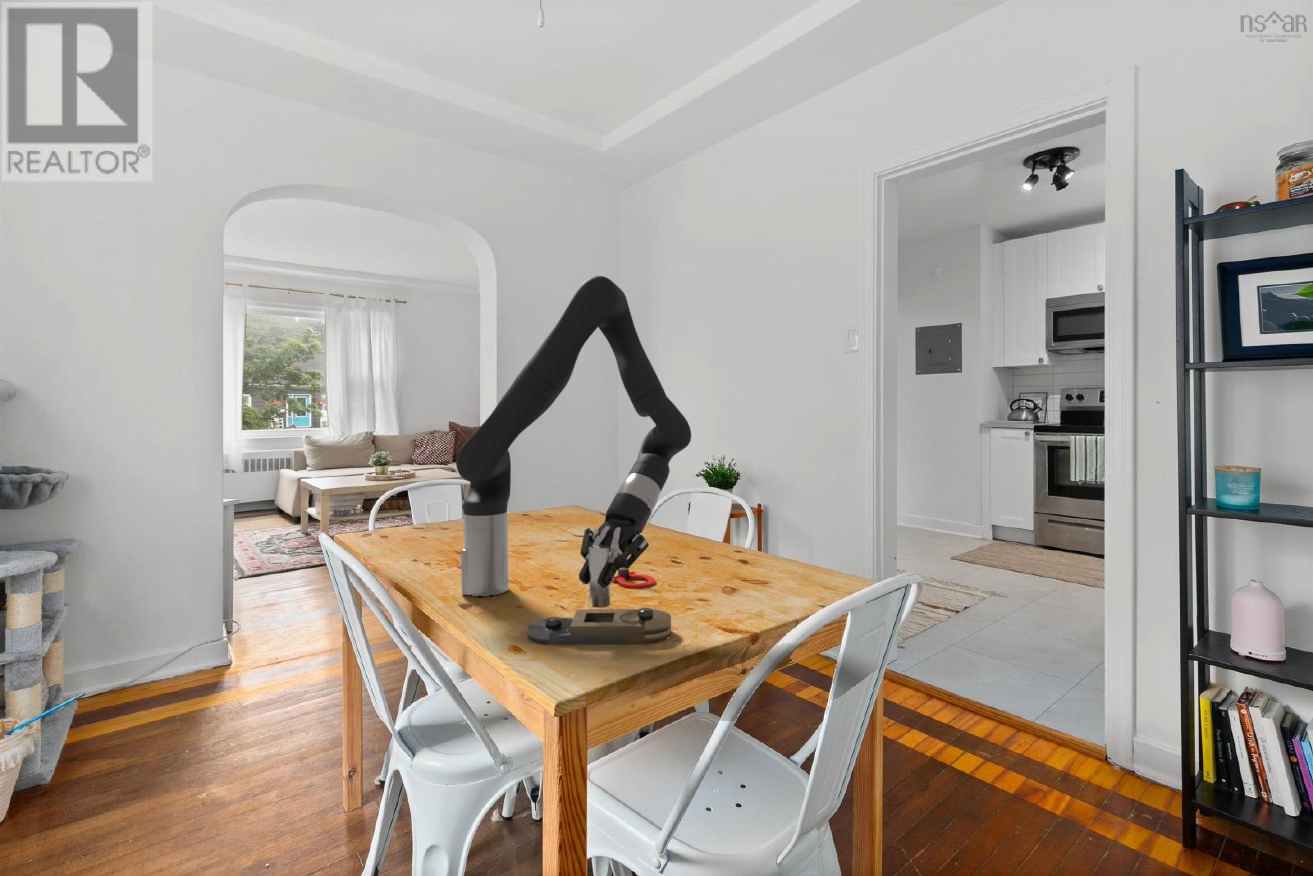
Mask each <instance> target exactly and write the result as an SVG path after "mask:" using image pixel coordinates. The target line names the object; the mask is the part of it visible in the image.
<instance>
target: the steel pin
mask: <svg viewBox="0 0 1313 876" xmlns="http://www.w3.org/2000/svg"><path fill="white" fill-rule="evenodd" d="M588 550H589V583H588V586H589V587H588V588H589V590H588V591H589V593H588V594H589V596H588V597H589V606H590V607H592V608H596V609H598V608H599V609H600V608H602V609H603V608H607V607H609V606H611V583H610V584H609V585H608V586H607V587H606V588H603V587H601V586H600V585H599V584H598V582H597V580H598V578H599V576H600V574H601V572H602V570H603V568H604V566H605V564H606V563H609V562H608V560H609V557H610V553H609V546H605V545H596V546H591V547H589V548H588Z"/></svg>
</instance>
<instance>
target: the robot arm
mask: <svg viewBox="0 0 1313 876" xmlns="http://www.w3.org/2000/svg"><path fill="white" fill-rule="evenodd" d="M627 299H628V298H627V296H626V295H625V293H624V291H623V290H622V289H621V288H620V287H619V286H618V285H617V284H616V283H615V282H614V281H612V280H611V279H610V278H608V277H606V276H603V275H594V276H591V277H590V278H587V279H586V280H584V282H582V284H581V285H580V286H579V287H578V289H577V290H576V291H575V292H574V295H573V297H572V298H571V300H570V301H569V303H568V305H567V307H566V308H565V310H564V312H563V313H562V314H561V316H560V318H559V320H558V321H557V323H556V324H555V326H554V327H553V328H552V330H551V331H550V332H549V334H548V335H547V337H546V338H545V339H544V340H543V342H542V343H541V344H540V346H539V347H538V349H537V350H536V352H535V353H534V354H533V355H532V357H531V358H530V359H529V360H528V361H527V363H526V364H525V365H524V366H523V368H522V369H521V371H520V372H519V373H518V375H517V376H516V378H515V379H514V381H513V382H512V384H511V385H510V386H509V388H508V389H507V391H506V392H505V393H504V395H503V396H502V397H501V398H500V400H499V402H497V403H498V404H497V405H496V406H495V408H494V409H493V410H492V413H490V415H489V416H488V417H487V418H486V419H485V420H484V422H483V423H482V424H481V425H480V426H479V427H478V428H477V430H475V432H474V433H473V434H472V435H470V437H469V438H468V439H467V440H466V442H464V444H462V446H461V447H460V448H459V450H458V453H457V455H456V460H455V465H456V469H457V470H456V471H457V473H458V474H459V475H460V477H461V478H462V479H463V480H465V481H467V482H469V483H470V485H469V489H468V490H469V491H468V493H467V496H466V497H465V499H464V501H463V503H462V504H463V505H462V510H463V512H462V513H463V514H462V515H463V516H462V517H463V548H462V549H461V550H460V562H461V563H460V565H461V595H464V596H467V595H468V596H470V595H472V596H471V597H478V596H483V597H491V596H490V595H493V596H497V595H501V594H504V592H505V593H506V591H507V592H508V591H509V589H510V588H509V587H510V583H509V581H510V579H509V536H508V535H509V531H508V526H509V525H508V523H509V522H508V504H509V500H510V495H511V480H512V474H511V473H512V468H511V467H512V463H511V455H510V451H509V448H510V447H511V446H512V444H513V443H514V441H516V439H517V438H518V437H519V436H520V435H521V434H522V433H523V432H524V431H525V430H526V429H527V428H528V427H530V426H531V425H532V424H533V423H534V422H535V421H537V420H538V419H539V418H540V417H541V416H542V415H543V414H544V413H545V412H547V410H548V409H549V408H550V407H551V406H552V405H553V404H554V402H555V401H556V400H557V398H558V397H559V396H560V394H561V393H562V392H563V391H564V389H565V388H566V386H567V385H568V383H569V382H570V379H571V377H572V375H573V372H574V370H575V367H576V366H575V365H576V364H577V360H578V358H579V355H580V353H581V350H582V348H583V347H584V345H585V344H586V342H587V341H588V340H589V339H590V338H591V336H592V335H593V333H594V332H595V331H596V330H597V329H599V330H600V332H601V333H602V334H603V336H604V337H605V339H606V341H607V342H608V344H609V346H610V348H611V350H612V353H613V355H614V357H615V361H616V365H617V368H618V372H619V376H620V378H621V381H622V384H623V386H624V389H625V391H626V392H625V393H627V396H628V398H629V400H630V402H631V404H632V406H633V408H634V410H635V412H636V414H637V415H638V416H640V417H643V418H647V417H648V418H650V419H651V420H652V421H653V423H654V425H655V426H654V427H652V428H651V429H650V430H649V431H648V433H647V434H646V436H645V437H644V439H643V440H642V444H641V446H640V448H639V452H638V455H637V459H636V461H635V462H634V463H633V465H632V467H631V468H630V470H629V472H628V474H627V476H626V478H625V479H624V481H622V483H621V485H620V486H619V488H618V490H617V492H616V493H615V496H614V497H613V499H612V501H611V503H610V504H609V506H608V508H607V510H606V512H605V519H604V522H603V523H602V524H601V525H600V526H599V527H598V529H594V530H592V529H591V528H590V527H587V528H586V529H584V532H583V538H582V543H581V546H580V547H581V548H580V553H579V554H580V556H582V558H583V559H584V560H585V561H584V564H583V566H582V568H581V569H580V571H579V573H578V579H579V580H580V582H581V583H582V584H583V585H589V550H588V548H589V547H591V546H596V545H605V546H609V560H608V562H609V563H606V564H605V566H604V568H603V570H602V572H601V574H600V576H599V578H598V580H597V582H598V584H599V585H600V586H601V587H603V588H606V587H607V586H608V585H609V584H610V585H611V583H612V579H613V577H614V576H616V574H617V572H618V570H619V569H620V568H623V567H624V568H625V569H629V568H630V567H631V566H632V565H633V564H634V563H635V562H636V560H638V558H639V557H641V555H642V554H643V553H644V552H645V551H646V550H647V549H648V547H649V546H650V545H649V542H648V541H647V539H646V537H644V536H643V534H642V533H643V532H644V530H645V527H646V525H647V524H648V522H649V519H650V518H651V516H652V514H653V511H654V510H655V508H656V505H657V503H658V501H659V497H660V494H661V492H662V490H663V489H664V486H665V484H666V483H667V480H668V478H669V475H670V465H669V463H670V462H671V460H672V459H673V457H674V456H676V455H677V454H678V453H680V452H682V451H683V450H685V449H686V448H687V447H688V446H689V444H690V443H691V442H692V441H691V439H692V430H691V427H690V424H689V422H688V420H687V418H686V417H685V416H684V415H683V414H682V412H681V411H680V410H679V409H678V407H677V406H676V405H675V404H674V403H673V402H672V400H671V399H669V397H668V396H667V394H666V392H665V388H663V386H662V383H661V381H660V379H659V377H658V375H657V373H656V371H655V368H654V367H653V365H652V363H651V361H650V358H649V357H648V355H647V354H646V351H645V349H644V346H643V345H642V342H641V340H640V337H639V335H638V331H637V330H636V327H635V323H634V320H633V317H632V314H631V311H630V310H631V309H630V307H629V303H628V300H627Z"/></svg>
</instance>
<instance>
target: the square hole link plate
mask: <svg viewBox="0 0 1313 876" xmlns="http://www.w3.org/2000/svg"><path fill="white" fill-rule="evenodd" d="M526 631H527V634H526V635H527V639H528V640H529V641H531V642H533V643H535V644H541V645H628V644H627V643H632V644H631V645H637V644H638V645H643V644H645V645H646V643H650V644H656V643H655V642H657V643H660V642H659V641H661V642H664V641H667V640H668V639H669V638H670V637H672V615H671V614H669V612H667V611H664V610H660V609H653V608H650V607H641V608H623V609H622V608H621V609H620V608H618V609H612V608H608V609H607V608H606V609H603V608H602V609H600V608H599V609H598V608H596V609H593V608H592V609H586V608H585V609H576V611H575V613H574V616H573V617H559V616H551V617H547V618H544V619H543V618H542V619H539V620H536V621H533V622H531V623H530V624H528V626H527V628H526ZM669 636H670V637H669ZM668 637H669V638H668ZM667 638H668V639H667ZM666 639H667V640H666Z"/></svg>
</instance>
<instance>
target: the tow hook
mask: <svg viewBox="0 0 1313 876" xmlns="http://www.w3.org/2000/svg"><path fill="white" fill-rule="evenodd" d="M629 579H630V580H642V581H643V580H644V581H645V582H642V583H640V582H639V583H637V582H635V583H634V582H633V583H632V582H629V581H627V580H629ZM612 582H614V583H613V584H615V583H617V584H618V585H619V586H620V587H623V588H626V587H627V588H626V589H635V588H636V589H646V587H647V588H650V587H649V586H651V587H653V586H655V585H656V579H655V577H652V576H651V575H646V574H641V573H640V574H639V573H638V574H637V573H636V572H635V571H632V570H631V571H630V569H629V568H628V569H625V568H624V567H623V568H620V569H619V570H617V575H614V577H613V579H612V581H611V583H612Z"/></svg>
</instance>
